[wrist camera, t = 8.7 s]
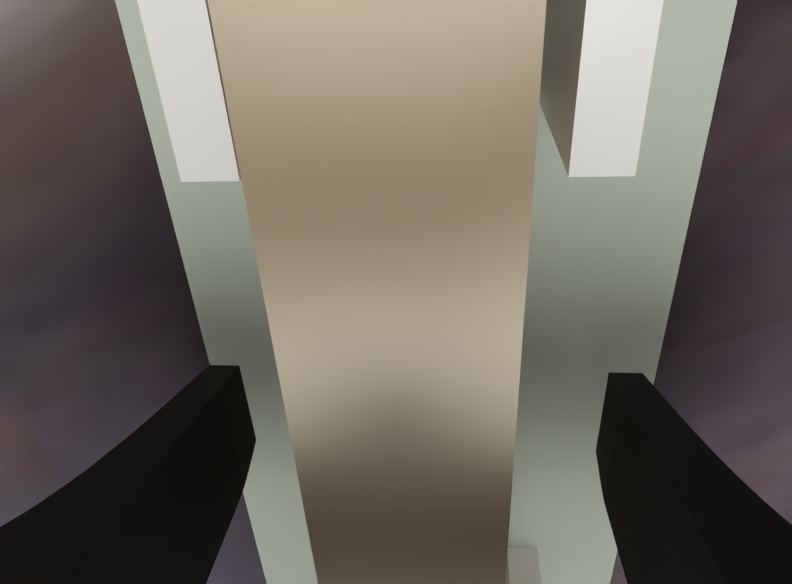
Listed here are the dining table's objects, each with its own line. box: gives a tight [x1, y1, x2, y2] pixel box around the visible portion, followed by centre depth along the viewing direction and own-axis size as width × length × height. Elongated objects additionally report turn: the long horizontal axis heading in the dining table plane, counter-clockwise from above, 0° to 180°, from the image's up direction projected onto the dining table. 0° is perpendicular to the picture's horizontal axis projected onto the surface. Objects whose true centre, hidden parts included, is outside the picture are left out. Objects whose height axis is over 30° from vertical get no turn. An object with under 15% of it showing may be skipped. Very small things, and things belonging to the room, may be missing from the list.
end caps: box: [137, 0, 664, 584], centre depth 13 cm, size 23×6×4 cm, turn 3°
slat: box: [207, 0, 547, 584], centre depth 12 cm, size 16×3×5 cm, turn 3°
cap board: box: [115, 0, 737, 584], centre depth 15 cm, size 24×10×1 cm, turn 3°
